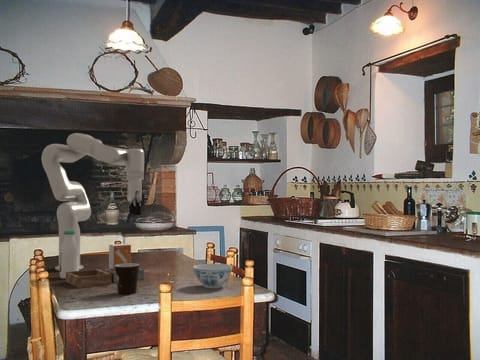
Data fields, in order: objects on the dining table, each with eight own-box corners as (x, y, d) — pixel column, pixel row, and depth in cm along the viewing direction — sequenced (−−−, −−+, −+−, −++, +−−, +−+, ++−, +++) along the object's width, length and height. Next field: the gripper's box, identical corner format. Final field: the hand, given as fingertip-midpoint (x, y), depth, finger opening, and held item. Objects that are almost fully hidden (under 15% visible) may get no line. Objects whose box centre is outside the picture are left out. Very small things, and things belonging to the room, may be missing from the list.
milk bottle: (82, 276, 214) (82, 230, 215) (71, 279, 207) (71, 231, 207) (67, 275, 217) (67, 229, 217) (55, 278, 209) (56, 230, 210)
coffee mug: (116, 290, 183) (117, 263, 183) (140, 290, 183) (140, 263, 184) (111, 297, 171) (111, 268, 171) (136, 297, 172) (136, 268, 172)
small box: (113, 275, 216) (113, 245, 216) (108, 273, 221) (108, 244, 222) (131, 274, 220) (131, 244, 221) (126, 272, 226) (126, 243, 226)
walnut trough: (65, 282, 201) (65, 272, 201) (97, 278, 209) (97, 269, 209) (78, 288, 188) (78, 277, 188) (111, 284, 196) (111, 274, 196)
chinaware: (207, 281, 200) (207, 262, 201) (239, 285, 193) (239, 265, 193) (185, 288, 188) (185, 267, 188) (218, 292, 180) (218, 270, 180)
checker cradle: (103, 278, 208) (103, 269, 208) (133, 275, 215) (133, 266, 216) (113, 282, 199) (113, 272, 199) (143, 279, 206) (143, 269, 207)
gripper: (123, 176, 229) (123, 213, 229) (130, 175, 213) (129, 215, 213) (140, 176, 232) (139, 213, 232) (147, 176, 216) (147, 215, 216)
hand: (134, 214), depth 223 cm, fingers open, 9 cm apart
